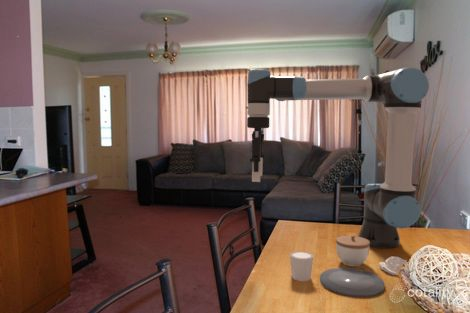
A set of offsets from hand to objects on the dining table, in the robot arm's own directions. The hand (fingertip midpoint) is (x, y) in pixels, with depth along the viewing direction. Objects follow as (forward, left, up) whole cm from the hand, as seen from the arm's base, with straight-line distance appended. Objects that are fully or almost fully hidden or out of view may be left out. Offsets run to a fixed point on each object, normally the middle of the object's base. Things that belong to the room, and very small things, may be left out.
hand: (257, 178), depth 136 cm
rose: (-43, +14, -28) cm, 53 cm away
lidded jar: (-31, +7, -27) cm, 42 cm away
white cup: (-12, +19, -27) cm, 36 cm away
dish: (-26, +23, -27) cm, 44 cm away
